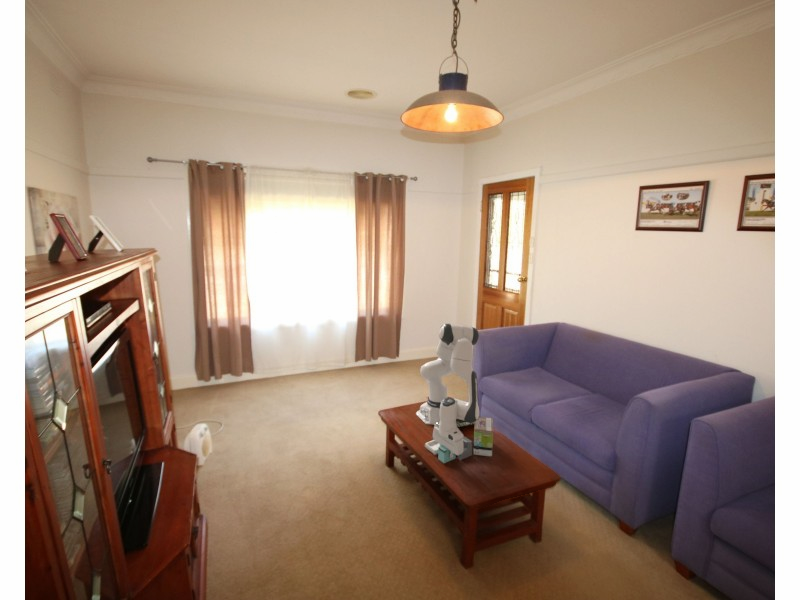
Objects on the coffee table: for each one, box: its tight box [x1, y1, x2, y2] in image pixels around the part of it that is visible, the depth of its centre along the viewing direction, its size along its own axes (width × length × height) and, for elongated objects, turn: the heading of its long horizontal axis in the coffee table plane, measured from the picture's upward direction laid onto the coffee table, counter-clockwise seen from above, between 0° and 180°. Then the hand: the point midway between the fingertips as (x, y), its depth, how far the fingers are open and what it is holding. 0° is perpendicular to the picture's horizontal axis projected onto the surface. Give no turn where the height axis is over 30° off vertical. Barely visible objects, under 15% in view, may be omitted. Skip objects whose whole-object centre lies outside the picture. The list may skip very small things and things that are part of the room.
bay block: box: [457, 436, 473, 461], centre depth 210 cm, size 10×8×8 cm
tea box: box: [472, 416, 495, 457], centre depth 214 cm, size 15×10×15 cm, turn 168°
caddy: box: [437, 445, 457, 464], centre depth 205 cm, size 5×8×7 cm, turn 125°
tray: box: [424, 439, 440, 455], centre depth 215 cm, size 9×11×2 cm
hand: (447, 454), depth 205 cm, fingers closed on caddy, 5 cm apart
